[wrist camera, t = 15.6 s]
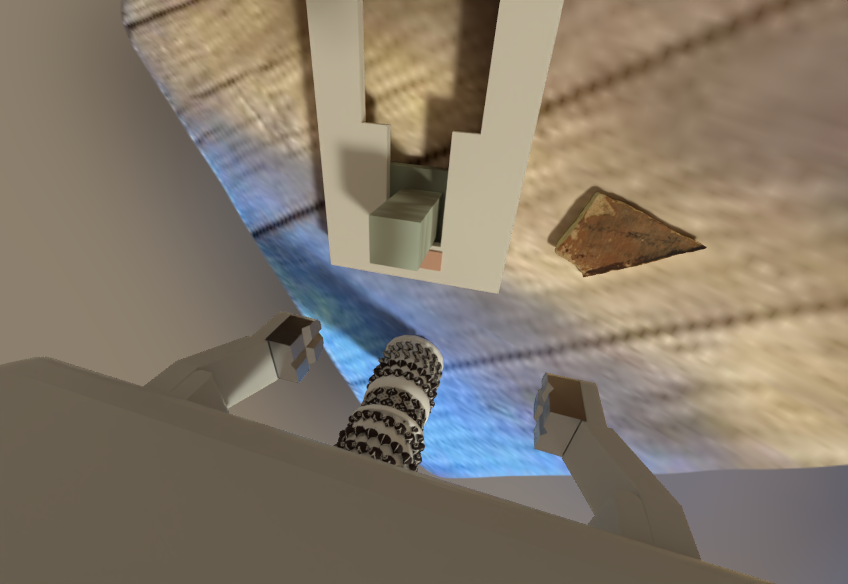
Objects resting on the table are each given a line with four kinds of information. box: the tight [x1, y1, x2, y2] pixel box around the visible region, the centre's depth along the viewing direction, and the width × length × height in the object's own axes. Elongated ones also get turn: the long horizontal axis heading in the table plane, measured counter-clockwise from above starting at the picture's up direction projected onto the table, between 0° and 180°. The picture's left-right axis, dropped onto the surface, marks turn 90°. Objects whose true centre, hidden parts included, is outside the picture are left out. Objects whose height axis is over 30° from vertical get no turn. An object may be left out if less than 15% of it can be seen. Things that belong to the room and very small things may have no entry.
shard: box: [555, 192, 706, 277], centre depth 31 cm, size 11×8×2 cm
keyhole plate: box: [306, 0, 564, 294], centre depth 28 cm, size 18×26×4 cm
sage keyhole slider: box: [369, 162, 449, 271], centre depth 29 cm, size 8×8×10 cm
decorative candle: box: [334, 335, 444, 472], centre depth 34 cm, size 9×9×25 cm
